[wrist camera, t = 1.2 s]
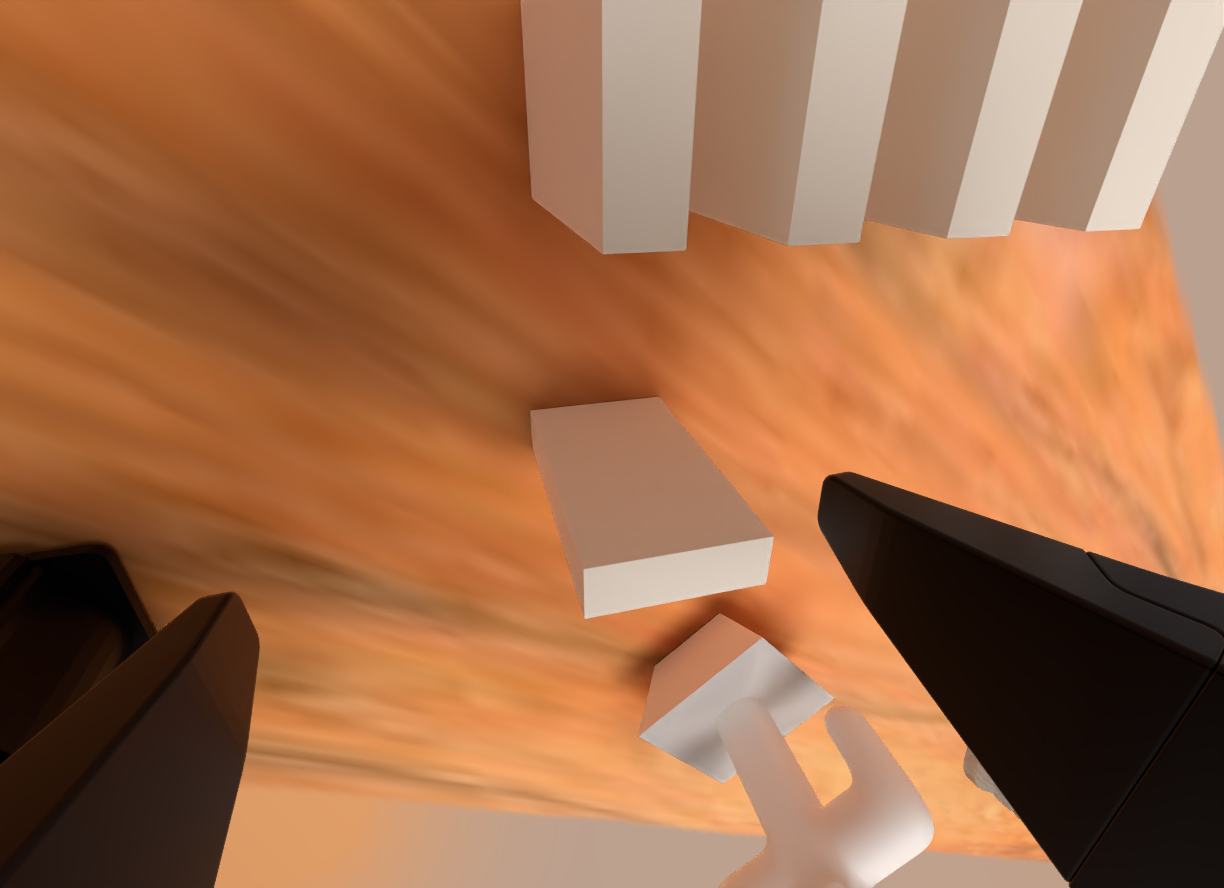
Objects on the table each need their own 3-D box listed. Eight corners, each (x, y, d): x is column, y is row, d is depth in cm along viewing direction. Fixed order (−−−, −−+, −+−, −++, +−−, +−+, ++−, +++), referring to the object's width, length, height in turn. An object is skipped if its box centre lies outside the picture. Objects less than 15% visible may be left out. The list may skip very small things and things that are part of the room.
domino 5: (884, 189, 21) (1139, 228, 14) (845, 190, 21) (1085, 231, 13) (920, 19, 19) (1255, -51, 11) (876, 16, 18) (1192, -57, 11)
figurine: (811, 630, 32) (1060, 964, 19) (680, 733, 33) (834, 1109, 21) (744, 566, 28) (997, 928, 16) (600, 685, 30) (726, 1108, 17)
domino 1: (582, 197, 19) (686, 250, 11) (531, 198, 18) (602, 254, 11) (578, 1, 16) (709, -106, 9) (520, -3, 16) (601, -117, 8)
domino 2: (659, 396, 23) (773, 536, 15) (657, 433, 23) (765, 583, 16) (530, 410, 22) (583, 569, 14) (532, 448, 22) (584, 618, 15)
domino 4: (791, 191, 20) (1008, 235, 13) (749, 192, 20) (946, 238, 12) (817, 13, 18) (1103, -65, 10) (769, 10, 17) (1029, -72, 10)
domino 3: (691, 194, 19) (859, 242, 12) (645, 195, 19) (787, 246, 11) (703, 7, 17) (924, -84, 9) (651, 5, 17) (836, -93, 9)
